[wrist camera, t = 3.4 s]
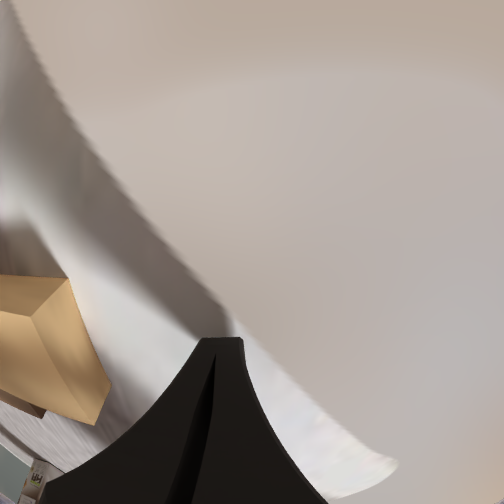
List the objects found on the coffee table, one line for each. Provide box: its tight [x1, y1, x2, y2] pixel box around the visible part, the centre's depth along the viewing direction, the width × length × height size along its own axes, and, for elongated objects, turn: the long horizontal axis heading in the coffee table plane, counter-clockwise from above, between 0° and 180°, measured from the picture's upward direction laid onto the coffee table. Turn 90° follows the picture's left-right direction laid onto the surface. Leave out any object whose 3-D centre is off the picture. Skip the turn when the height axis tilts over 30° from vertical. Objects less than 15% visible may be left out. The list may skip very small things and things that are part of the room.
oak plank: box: [0, 274, 112, 426], centre depth 9 cm, size 6×10×3 cm, turn 91°
